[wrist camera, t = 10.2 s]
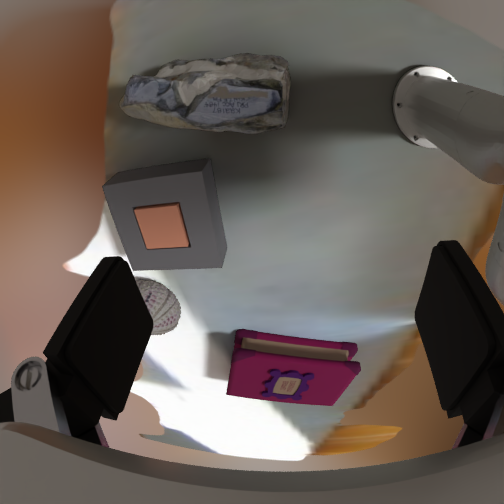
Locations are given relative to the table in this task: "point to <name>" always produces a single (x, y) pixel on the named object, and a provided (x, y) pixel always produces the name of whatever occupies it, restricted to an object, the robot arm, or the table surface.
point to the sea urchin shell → (160, 306)
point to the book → (290, 368)
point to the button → (162, 225)
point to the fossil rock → (214, 94)
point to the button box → (167, 191)
